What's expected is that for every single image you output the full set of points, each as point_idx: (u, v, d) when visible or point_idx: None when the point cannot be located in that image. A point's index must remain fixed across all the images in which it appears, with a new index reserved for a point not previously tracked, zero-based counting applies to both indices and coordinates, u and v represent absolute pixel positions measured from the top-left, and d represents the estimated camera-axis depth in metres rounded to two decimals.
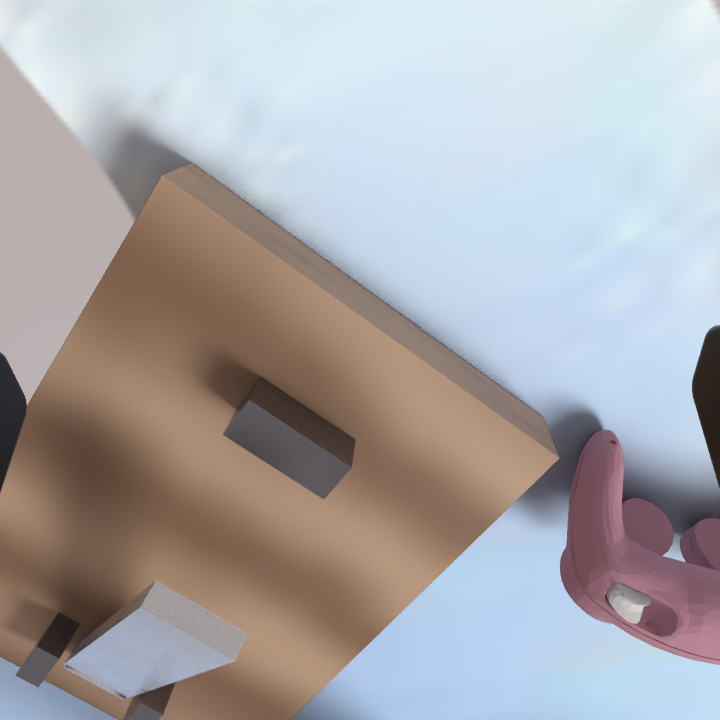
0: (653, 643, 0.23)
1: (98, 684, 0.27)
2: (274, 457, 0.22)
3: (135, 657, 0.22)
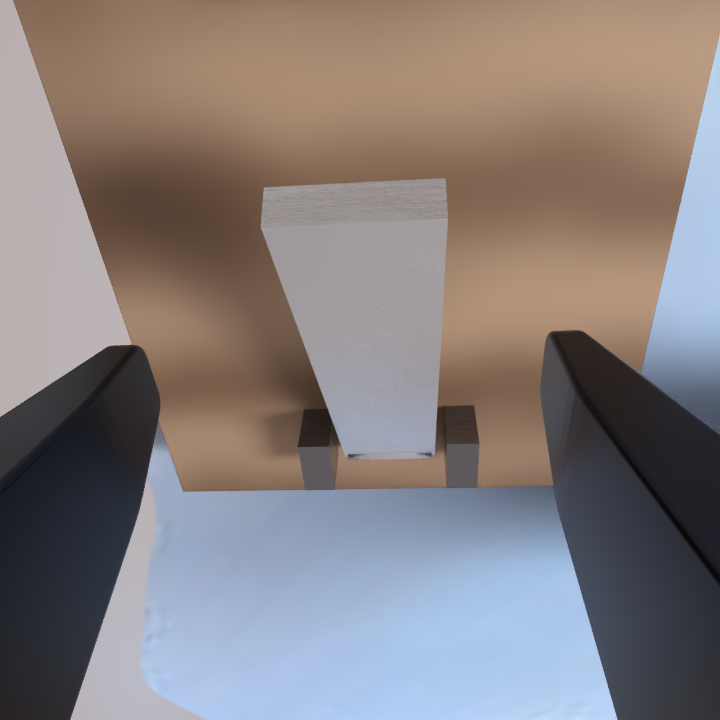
0: None
1: (394, 456, 0.22)
2: None
3: (369, 364, 0.16)
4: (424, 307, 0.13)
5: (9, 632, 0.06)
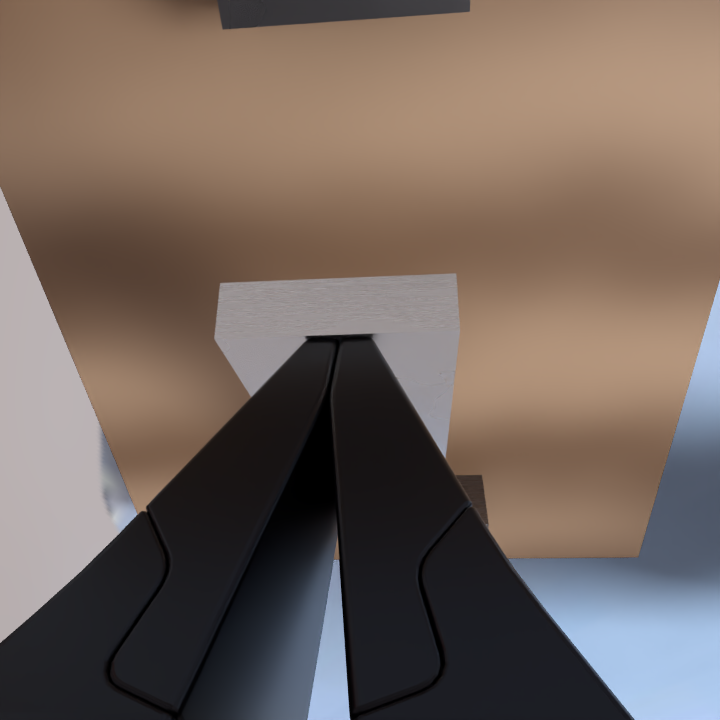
0: None
1: None
2: None
3: None
4: (427, 413, 0.11)
5: (283, 633, 0.06)
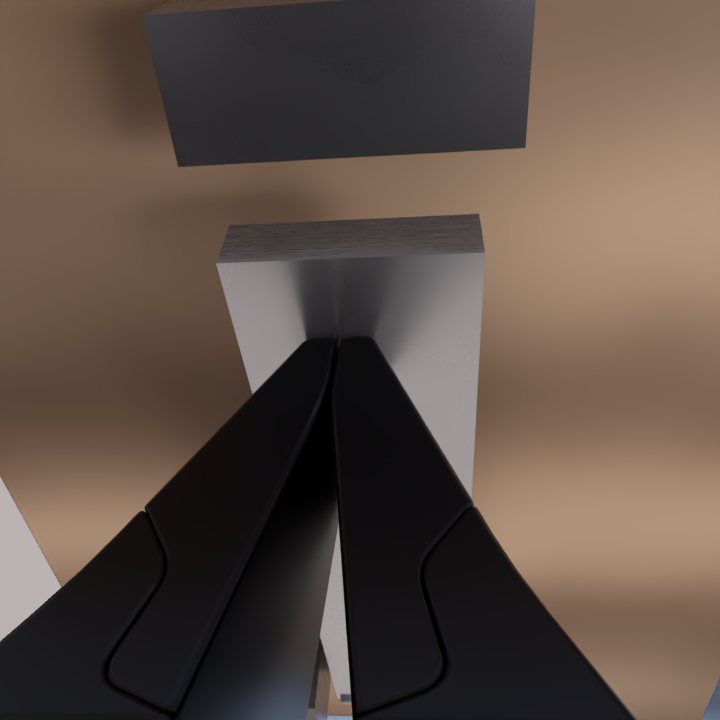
0: None
1: None
2: (326, 129, 0.07)
3: None
4: (449, 425, 0.09)
5: (282, 632, 0.06)
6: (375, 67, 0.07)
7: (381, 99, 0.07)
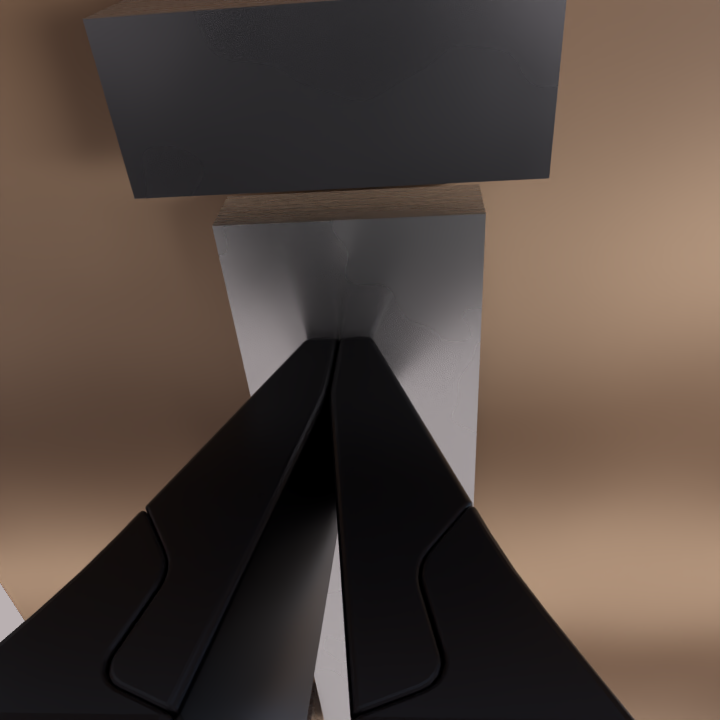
0: None
1: None
2: (310, 155, 0.06)
3: None
4: (449, 413, 0.09)
5: (283, 632, 0.06)
6: (368, 82, 0.06)
7: (376, 120, 0.06)
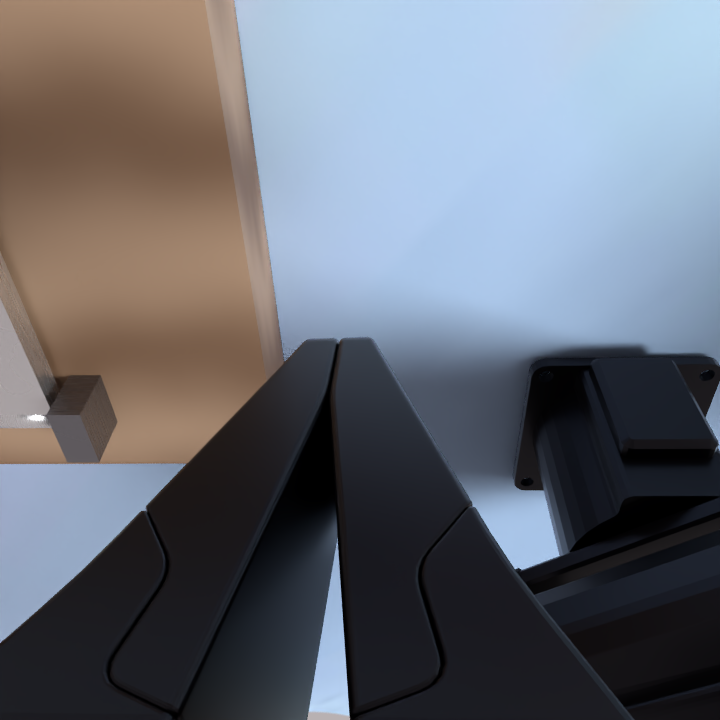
0: None
1: (10, 418, 0.20)
2: None
3: None
4: None
5: (283, 632, 0.06)
6: None
7: None
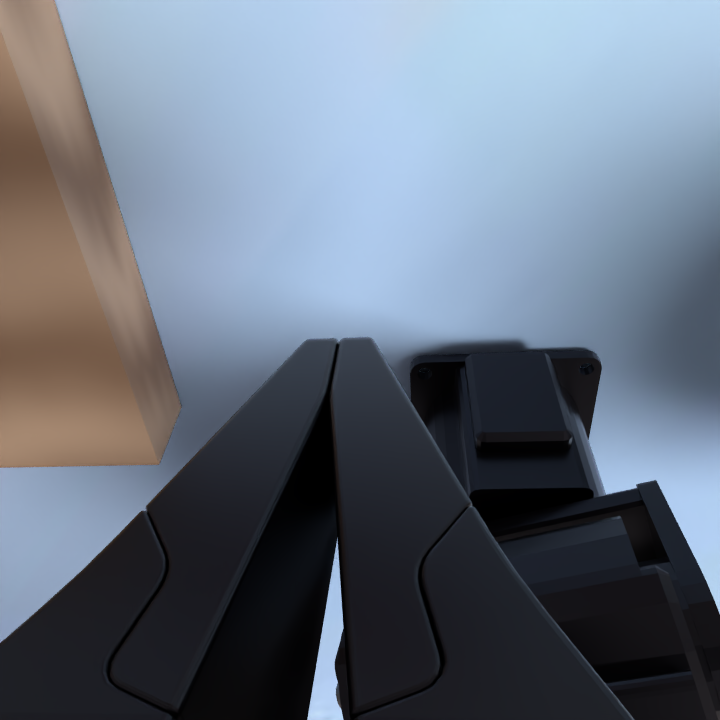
0: None
1: None
2: None
3: None
4: None
5: (283, 633, 0.06)
6: None
7: None
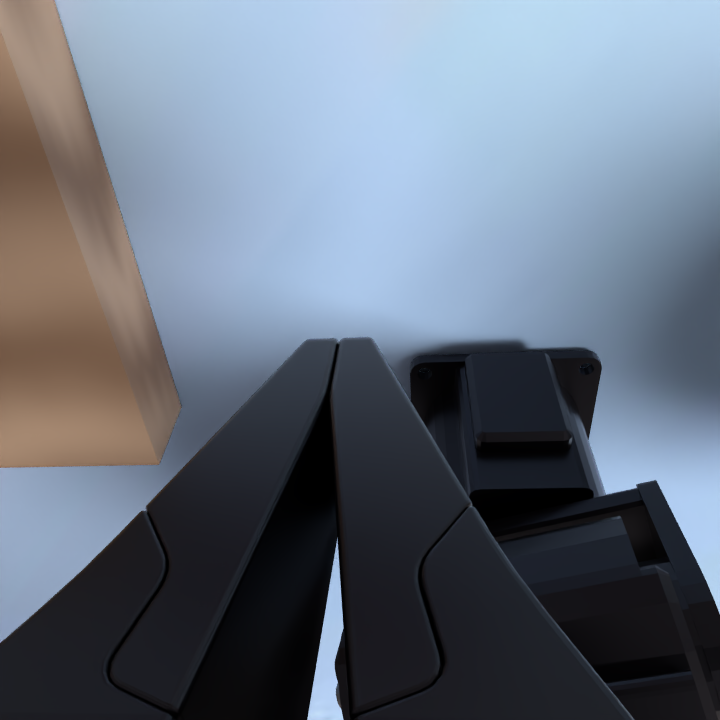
0: None
1: None
2: None
3: None
4: None
5: (283, 633, 0.06)
6: None
7: None
